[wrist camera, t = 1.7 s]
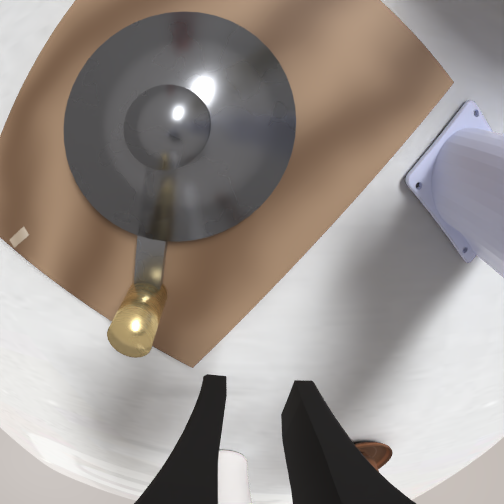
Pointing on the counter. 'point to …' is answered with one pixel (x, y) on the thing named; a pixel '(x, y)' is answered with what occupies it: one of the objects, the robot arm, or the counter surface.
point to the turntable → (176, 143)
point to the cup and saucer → (375, 453)
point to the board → (276, 205)
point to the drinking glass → (233, 478)
